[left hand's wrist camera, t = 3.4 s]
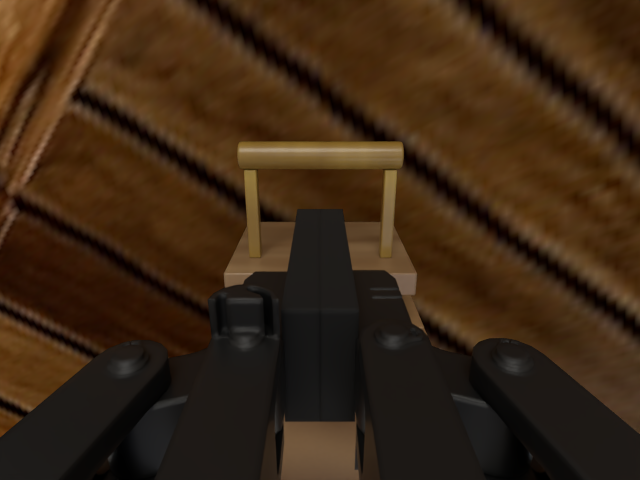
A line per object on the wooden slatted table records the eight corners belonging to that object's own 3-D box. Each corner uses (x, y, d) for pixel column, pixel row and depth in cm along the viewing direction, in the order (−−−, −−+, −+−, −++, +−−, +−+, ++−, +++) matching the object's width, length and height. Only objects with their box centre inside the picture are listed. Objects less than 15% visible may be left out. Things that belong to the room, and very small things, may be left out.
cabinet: (244, 258, 30) (211, 340, 20) (395, 258, 30) (429, 340, 20) (258, 462, 36) (238, 592, 27) (381, 462, 36) (402, 593, 27)
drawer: (242, 127, 25) (212, 148, 18) (398, 127, 25) (429, 149, 18) (261, 431, 34) (245, 528, 27) (378, 431, 34) (394, 528, 27)
